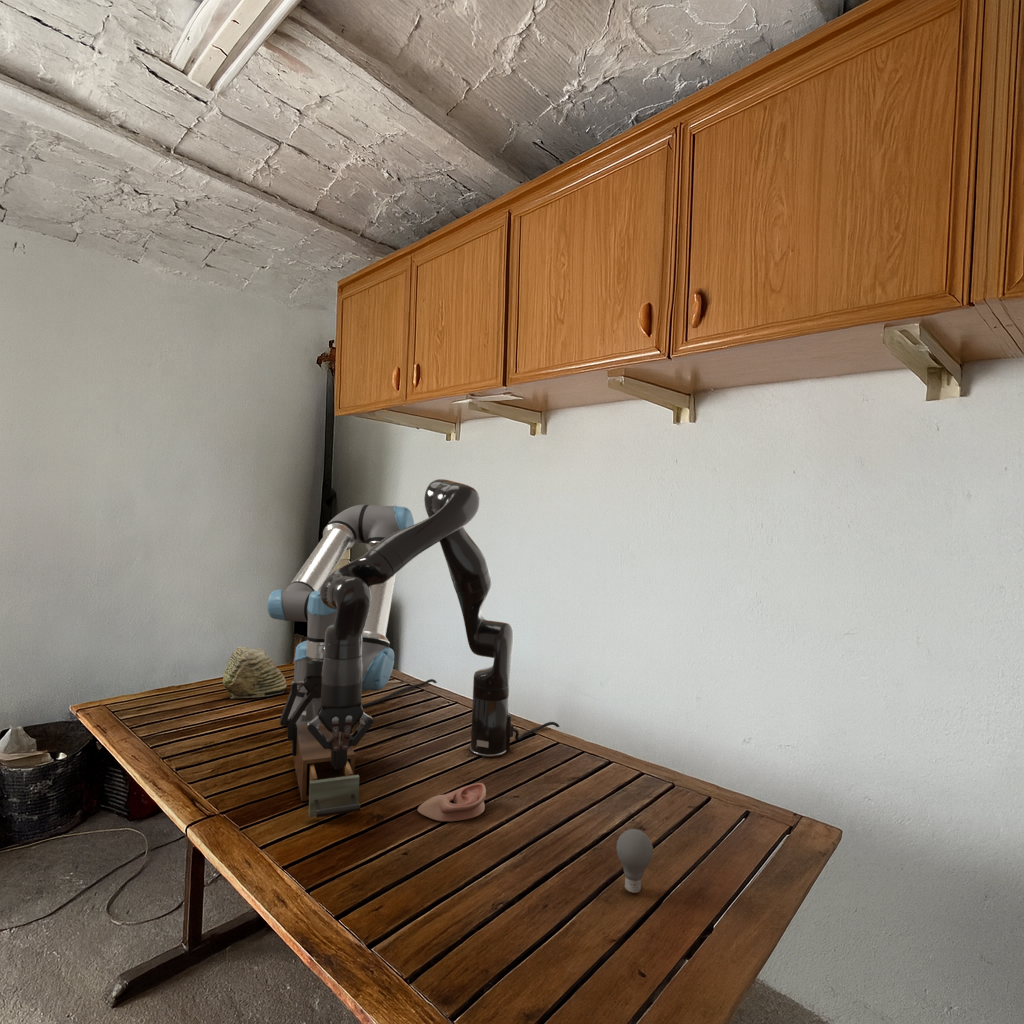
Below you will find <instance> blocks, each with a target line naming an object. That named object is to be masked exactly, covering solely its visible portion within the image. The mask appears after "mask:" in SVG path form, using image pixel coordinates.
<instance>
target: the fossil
mask: <svg viewBox="0 0 1024 1024" xmlns="http://www.w3.org/2000/svg"><path fill="white" fill-rule="evenodd" d="M222 676H223V677H222V685H223V687H224V688H225V690H226V691H228V693H229V698H230V699H250V698H264V697H271V696H275V695H281V694H284V693H285V691H286V689H287V687H288V686H287V680H286V678H285V676H284V674H283V673H282V672H281V669H279V668H278V667H277V665H276V663H275V662H274V660H273V659H272V658H271V657H270V656H269V655H268V654H267V653H266V652H265V650H264V649H263V648H260V647H258V648H251V647H247V646H246V647H245V646H238V647H237V648H236V649H235V650H233V651H232V653H231V656H230V657H229V659H228V660H227V663H226V666H225V668H224V671H223V675H222Z"/></svg>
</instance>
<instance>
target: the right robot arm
mask: <svg viewBox="0 0 1024 1024" xmlns="http://www.w3.org/2000/svg"><path fill="white" fill-rule="evenodd" d="M423 502H424V508H425V511H426V515H427V517H428V518H426V519H423V520H422V521H419V522H417V523H414V525H412V526H409V527H407V528H404V529H401V530H399V531H397V532H395V533H392V534H391V535H389V536H387V537H386V538H384V539H383V540H381V541H380V542H379V543H378V544H376V545H375V546H374V547H373V548H371V549H370V550H368V551H367V552H365V553H364V554H363V555H362V556H360V557H358V558H356V559H353V560H352V561H350V562H348V563H347V564H345V565H343V566H340V567H339V568H337V569H336V570H333V572H332V573H331V574H330V575H329V576H328V577H327V578H326V580H325V581H324V582H323V584H322V586H321V589H320V598H321V600H322V602H323V603H324V604H325V605H326V606H327V607H329V608H331V609H335V610H337V616H336V620H335V624H332V625H330V626H329V627H328V628H327V629H326V632H325V644H324V660H323V666H322V674H321V677H322V686H321V707H320V709H319V711H318V716H317V717H315V718H314V719H313V720H312V721H311V720H309V721H307V723H306V725H307V729H308V730H309V732H310V733H311V734H312V735H313V736H314V738H315V739H316V740H317V741H318V742H319V743H320V745H321V746H322V747H323V748H324V749H330V750H331V764H332V767H334V768H335V770H340V769H343V766H346V764H347V750H348V748H349V747H351V746H352V747H356V746H357V745H358V744H359V743H360V741H361V740H362V739H363V738H364V736H365V735H366V733H368V731H369V730H370V728H371V727H372V726H373V725H374V723H375V720H374V719H373V717H372V716H371V715H370V714H367V713H366V712H365V711H364V707H362V706H361V705H362V694H363V693H362V692H363V690H362V671H363V665H362V634H363V630H364V627H365V624H366V621H367V617H368V613H369V610H370V605H371V592H370V588H369V586H372V585H378V584H383V583H385V582H386V581H388V580H389V579H390V578H391V577H393V576H394V575H395V574H396V575H397V574H398V573H399V572H400V571H401V570H402V569H404V568H405V566H407V564H409V563H410V562H412V561H413V560H414V559H415V558H416V557H418V556H419V555H420V554H422V553H424V552H425V551H427V550H428V549H429V548H431V547H433V546H435V545H436V544H437V543H439V544H440V547H441V550H442V553H443V556H444V559H445V561H446V565H447V568H448V572H449V576H450V578H451V583H452V586H453V588H454V591H455V593H456V597H457V600H458V603H459V607H460V610H461V615H462V618H463V619H462V620H463V622H464V623H463V624H464V629H465V634H466V639H467V643H468V647H469V649H470V651H471V653H473V654H474V655H476V656H478V657H484V658H490V659H493V662H492V666H488V667H483V668H480V669H478V670H476V671H475V672H474V674H473V683H472V685H473V686H472V706H471V707H472V709H471V729H470V730H471V732H470V747H469V751H470V752H471V753H472V754H473V755H475V756H477V757H481V758H496V757H497V758H498V757H502V756H504V755H506V753H510V749H511V738H513V737H514V739H515V741H520V740H522V739H523V738H525V737H526V736H528V735H530V734H532V733H535V732H537V731H540V730H542V729H544V728H547V727H549V726H554V727H556V728H560V725H559V723H557V722H555V721H549V722H545V723H543V724H541V725H539V726H536V727H534V728H532V729H529V730H526V731H524V732H522V734H521V735H520V732H519V730H518V729H517V728H515V726H514V725H513V724H512V714H510V713H509V704H510V703H509V700H510V679H511V675H512V668H513V667H512V665H513V653H514V644H515V633H514V628H513V626H512V625H511V624H510V623H508V622H504V621H498V620H488V619H486V618H485V617H484V615H483V610H482V609H483V606H484V604H485V602H486V601H487V599H488V597H489V595H490V593H491V590H492V586H493V580H492V576H491V575H492V574H491V572H490V568H489V564H488V561H487V559H486V556H485V555H484V553H483V551H482V550H481V549H480V547H479V546H478V544H477V543H476V542H475V541H474V539H472V537H471V536H470V535H469V533H468V532H467V530H466V528H465V527H466V526H467V525H468V524H469V523H470V522H472V521H473V520H474V519H475V517H476V516H477V514H478V512H479V509H480V506H481V499H480V496H479V493H478V491H477V490H476V489H475V488H474V487H472V486H470V485H468V484H464V483H461V482H458V481H453V480H449V479H445V478H444V479H443V478H439V479H434V480H432V481H431V482H430V483H429V484H428V486H427V487H426V489H425V493H424V501H423ZM320 721H321V722H322V723H323V725H324V726H325V727H326V729H327V730H328V731H329V732H330V735H331V740H328V739H327V738H326V737H325V736H324V735H323V733H322V732H321V731H320V730H319V729H320V728H321V726H320ZM357 723H359V724H358V726H357V727H356V725H357ZM354 727H356V729H354ZM351 729H352V730H353V729H354V731H352V733H351V734H350V731H351ZM339 732H341V738H340V747H339ZM514 733H515V735H514Z"/></svg>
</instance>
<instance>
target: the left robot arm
mask: <svg viewBox="0 0 1024 1024" xmlns="http://www.w3.org/2000/svg"><path fill="white" fill-rule="evenodd" d="M414 521H415V520H414V516H413V514H412V512H411V510H410V508H408V507H406V506H400V505H399V506H397V505H381V504H380V505H379V504H377V505H376V504H357V505H353V506H350V507H348V508H346V509H344V510H342V511H341V512H339V513H338V514H336V515H335V516H334V517H333V518H332V519H330V520H329V521H328V523H327V525H326V526H325V527H324V528H323V530H322V538H321V539H320V541H319V542H318V544H317V545H316V546H315V548H314V549H313V551H312V552H311V553H310V555H309V557H308V558H307V559H306V561H305V562H304V563H303V565H302V567H300V569H299V571H298V572H297V573H296V575H295V576H294V578H293V579H292V580H291V582H290V583H289V585H288V586H287V588H286V589H283V588H281V589H275V590H273V591H272V592H271V593H270V594H269V596H268V599H267V603H266V604H267V605H266V608H267V613H268V615H269V617H270V618H272V619H273V620H279V621H284V622H304V623H307V633H306V634H307V635H306V640H304V641H302V642H299V643H298V644H297V645H296V647H295V652H294V653H295V654H294V659H293V661H294V672H293V680H291V681H290V691H289V694H288V696H287V699H286V701H285V705H284V707H283V710H282V712H281V714H280V717H279V724H280V725H281V726H283V727H284V726H285V727H286V728H287V735H286V737H287V741H288V742H291V753H292V757H294V756H296V748H297V726H303V725H306V723H307V721H309V720H311V721H312V720H313V719H314V718H315V717H317V716H318V711H319V709H320V707H321V686H322V677H321V674H322V666H323V660H324V644H325V632H326V629H327V628H328V627H329V626H330V625H332V624H335V620H336V616H337V610H335V609H331V608H329V607H327V606H326V605H325V604H324V603H323V602H322V600H321V598H320V589H321V586H322V584H323V582H324V581H325V580H326V578H327V577H328V576H329V575H330V574H332V573H333V572H334V571H335V569H336V567H337V565H338V564H339V563H340V561H341V559H342V558H343V556H344V554H345V553H346V551H348V550H350V549H352V548H353V546H354V545H355V544H365V548H366V549H367V550H368V551H369V550H370V549H371V548H373V547H374V546H375V545H376V544H378V543H379V542H380V541H381V540H383V539H384V538H386V537H387V536H389V535H391V534H392V533H395V532H397V531H399V530H401V529H404V528H407V527H409V526H412V525H415V522H414ZM396 577H397V573H396V574H395V575H394V576H393V577H391V578H390V579H389V580H388V581H386V582H385V583H383V584H378V585H372V586H369V588H370V592H371V605H370V610H369V613H368V617H367V621H366V624H365V627H364V630H363V634H362V665H363V671H362V691H364V692H368V691H375V692H377V691H381V690H382V689H384V688H385V686H386V685H387V684H388V683H389V681H390V678H391V677H392V676H391V675H392V673H393V671H394V666H395V652H394V650H393V649H392V648H391V647H390V645H391V642H390V641H389V639H388V638H387V629H388V625H389V619H390V613H391V608H392V607H391V606H392V601H393V595H394V589H395V583H396ZM430 683H433V684H437V683H438V681H436V679H433V678H430V679H428V680H425V681H423V682H420V683H416V684H413V685H409V686H406V687H404V688H400V689H399V690H396V691H394V692H392V693H390V694H387V695H385V696H383V697H381V698H379V699H375V700H372V701H369V702H366V703H361V706H362V708H366V707H369V706H372V705H375V704H378V703H381V702H383V701H386V700H388V699H390V698H392V697H395V696H396V695H399V694H401V693H403V692H405V691H409V690H411V689H415V688H418V687H423V686H425V685H428V684H430ZM320 724H323V723H322V722H321V721H320ZM352 734H353V729H351V731H350V735H352Z"/></svg>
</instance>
